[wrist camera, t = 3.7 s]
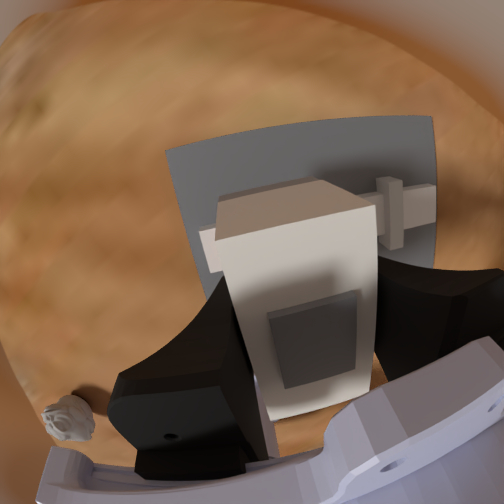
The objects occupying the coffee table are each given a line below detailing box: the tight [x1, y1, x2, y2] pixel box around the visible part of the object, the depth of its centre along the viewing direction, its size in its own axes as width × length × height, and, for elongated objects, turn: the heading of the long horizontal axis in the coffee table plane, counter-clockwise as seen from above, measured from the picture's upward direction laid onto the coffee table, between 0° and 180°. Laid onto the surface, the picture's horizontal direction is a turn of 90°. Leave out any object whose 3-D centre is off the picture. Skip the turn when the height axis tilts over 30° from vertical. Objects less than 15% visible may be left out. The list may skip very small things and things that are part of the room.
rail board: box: [165, 116, 437, 301], centre depth 19 cm, size 14×20×3 cm
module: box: [215, 176, 378, 421], centre depth 10 cm, size 8×4×6 cm, turn 12°
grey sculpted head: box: [41, 395, 95, 441], centre depth 23 cm, size 6×7×7 cm
